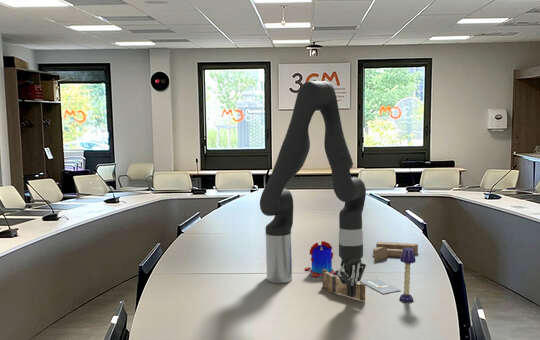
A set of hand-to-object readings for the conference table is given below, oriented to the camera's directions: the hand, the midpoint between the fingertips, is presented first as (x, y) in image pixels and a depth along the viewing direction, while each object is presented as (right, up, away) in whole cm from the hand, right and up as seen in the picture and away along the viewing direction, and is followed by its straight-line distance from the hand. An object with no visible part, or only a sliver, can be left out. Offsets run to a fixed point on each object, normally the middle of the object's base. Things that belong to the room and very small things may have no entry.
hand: (351, 296), depth 151 cm
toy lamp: (+18, -2, +1) cm, 18 cm away
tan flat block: (-5, -1, +13) cm, 14 cm away
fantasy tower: (-6, +1, +32) cm, 32 cm away
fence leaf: (0, -1, +5) cm, 5 cm away
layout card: (+12, 0, +14) cm, 19 cm away
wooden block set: (+27, +3, +50) cm, 56 cm away
